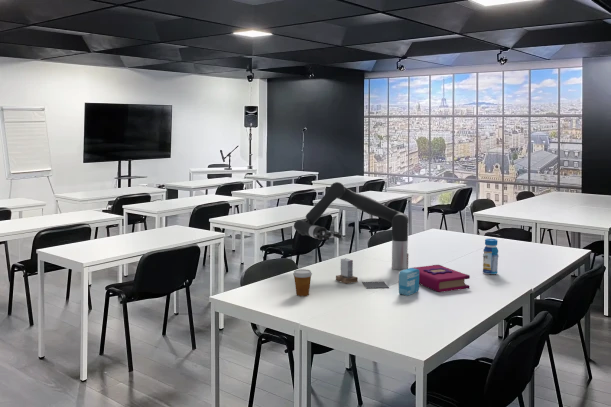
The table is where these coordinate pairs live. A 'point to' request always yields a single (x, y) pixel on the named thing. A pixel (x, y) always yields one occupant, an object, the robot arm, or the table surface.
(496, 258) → the beverage bottle
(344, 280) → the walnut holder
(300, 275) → the disposable coffee cup
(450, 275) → the book
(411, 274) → the data package
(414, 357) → the table surface
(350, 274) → the light grey rectangular block
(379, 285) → the black mat
